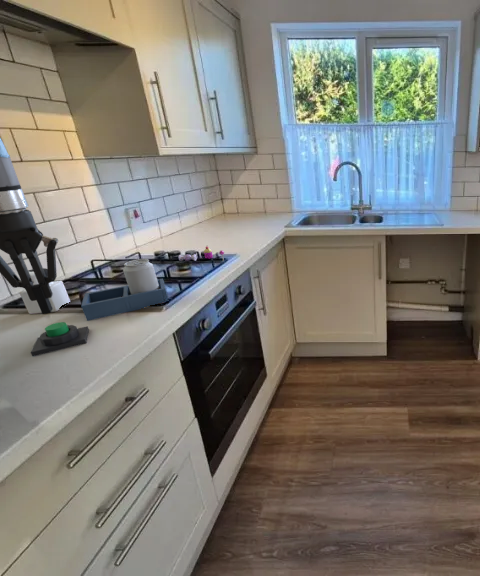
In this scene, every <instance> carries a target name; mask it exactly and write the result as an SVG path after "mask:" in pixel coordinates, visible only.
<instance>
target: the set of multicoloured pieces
mask: <svg viewBox="0 0 480 576" xmlns="http://www.w3.org/2000/svg"><path fill="white" fill-rule="evenodd" d="M218 252H219V254H220V255H221V258H222V262H224V261H225V259H224V255H225V251H224V250H219V251H218ZM203 253H204V257H205V259H207V260H208V259H209V260H210V259H212V258H213V257H214V256H213V251H212V249H211V248H209V246H205V249H204V251H203ZM197 257H198V256H197V255H196V253H193V254H192V255H191V254H184V255H182V254H179V255H178V260H179V262H183V261H185V262H191V261H197Z"/></svg>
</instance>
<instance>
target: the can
mask: <svg viewBox="0 0 480 576" xmlns="http://www.w3.org/2000/svg"><path fill="white" fill-rule="evenodd" d="M123 266H124V267H123V269H122V272H123V274H124V277H125V280H126V283H127V285H128V287H129V290H130V293H131V295H133V294H138V293H142V292H147V291H152V290H157V289H160V288H159V284H158V281H157V280H158V277H157V275H156V270H155V267H154V264H153V263H151V262H150V259H148V258H137V259H132V260H129V261H126V262H124V264H123Z"/></svg>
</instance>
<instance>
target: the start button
mask: <svg viewBox="0 0 480 576" xmlns="http://www.w3.org/2000/svg"><path fill="white" fill-rule="evenodd" d="M67 325H68V324H67V323H66V322H65V321H60V322H54V323H51V324H48V325H47V326H46V327H45V328H44V330H45V331H44V332H46V333H47V335H48V337H54V336H59V335H62V334H64V333H67V332H68V331H69V329H68V326H67Z"/></svg>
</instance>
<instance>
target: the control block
mask: <svg viewBox="0 0 480 576" xmlns="http://www.w3.org/2000/svg"><path fill="white" fill-rule="evenodd" d="M67 326H68V329H69V331H68V332H67V333H64V334H62V335H59V336H54V337H48V335H47V333H46V331H44V332H42V333H41V334H40V335H39V337H37V338H36V340H35V343H34V345H33V347H32V348H31V350H30V354H31V356H32V357H36V356H41V355H45V354H47V353H52V352H56V351H61V350H65V349H68V348H72V347H76V346H80V345H84V344H87V342H88V337H89V334H90V328H89V326H87V325H86V326H83V327H77V325H73V324H67Z"/></svg>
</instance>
